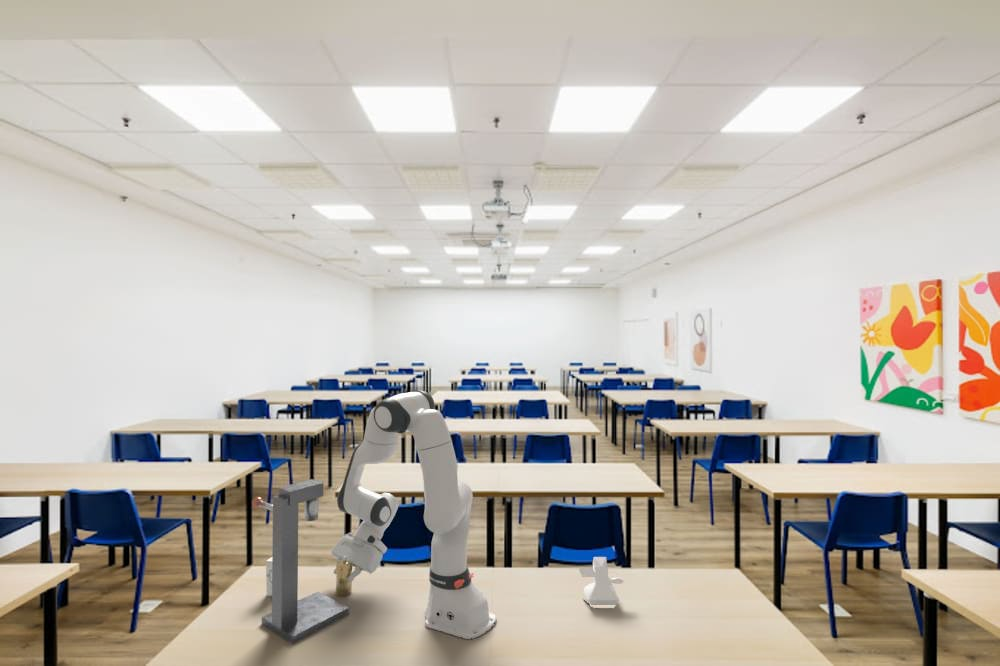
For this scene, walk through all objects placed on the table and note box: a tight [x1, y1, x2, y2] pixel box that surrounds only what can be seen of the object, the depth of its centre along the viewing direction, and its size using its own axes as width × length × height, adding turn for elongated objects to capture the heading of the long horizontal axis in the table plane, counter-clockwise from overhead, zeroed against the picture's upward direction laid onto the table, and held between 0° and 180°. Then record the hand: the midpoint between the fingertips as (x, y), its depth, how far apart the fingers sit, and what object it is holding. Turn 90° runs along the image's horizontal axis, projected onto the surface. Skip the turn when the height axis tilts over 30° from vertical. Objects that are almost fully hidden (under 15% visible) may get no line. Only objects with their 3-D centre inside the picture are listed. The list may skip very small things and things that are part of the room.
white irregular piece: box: [578, 556, 625, 606], centre depth 168 cm, size 8×14×14 cm, turn 91°
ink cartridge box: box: [265, 556, 272, 597], centre depth 173 cm, size 9×5×15 cm, turn 168°
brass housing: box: [335, 556, 353, 598], centre depth 172 cm, size 5×5×12 cm
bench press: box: [251, 478, 350, 645], centre depth 159 cm, size 25×19×41 cm
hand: (342, 577), depth 172 cm, fingers open, 5 cm apart
